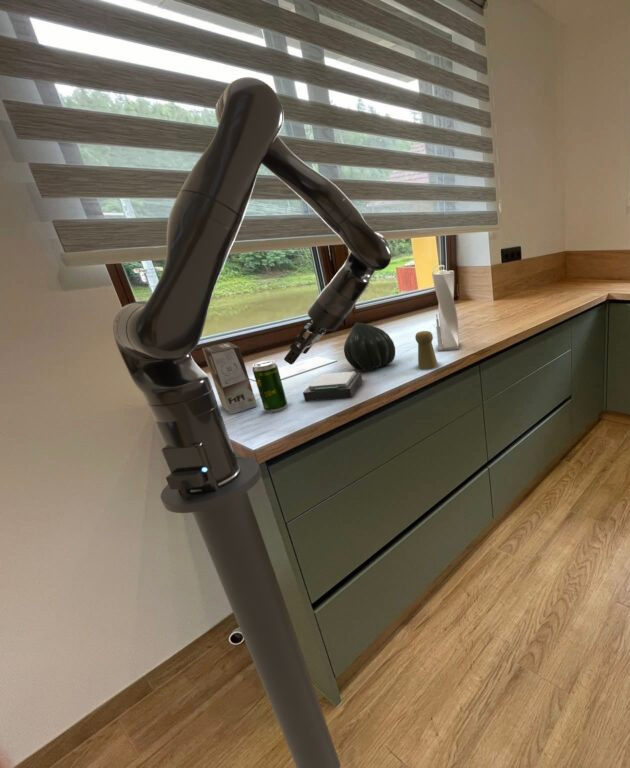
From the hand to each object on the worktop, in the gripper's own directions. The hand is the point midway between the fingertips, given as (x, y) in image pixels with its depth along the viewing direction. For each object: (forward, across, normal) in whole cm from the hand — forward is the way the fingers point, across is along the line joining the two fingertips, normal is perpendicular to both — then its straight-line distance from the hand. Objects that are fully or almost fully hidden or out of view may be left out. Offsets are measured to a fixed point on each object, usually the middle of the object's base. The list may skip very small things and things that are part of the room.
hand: (295, 356), depth 104 cm
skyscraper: (-15, -44, +34) cm, 57 cm away
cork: (-10, -24, +29) cm, 39 cm away
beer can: (+15, 0, +4) cm, 15 cm away
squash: (+2, -28, +17) cm, 33 cm away
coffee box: (+23, -4, -4) cm, 23 cm away
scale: (+6, -9, +12) cm, 16 cm away
